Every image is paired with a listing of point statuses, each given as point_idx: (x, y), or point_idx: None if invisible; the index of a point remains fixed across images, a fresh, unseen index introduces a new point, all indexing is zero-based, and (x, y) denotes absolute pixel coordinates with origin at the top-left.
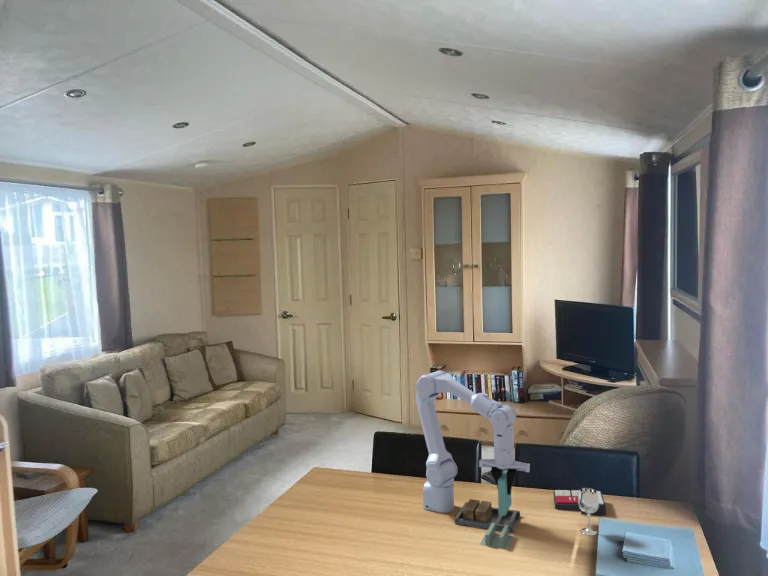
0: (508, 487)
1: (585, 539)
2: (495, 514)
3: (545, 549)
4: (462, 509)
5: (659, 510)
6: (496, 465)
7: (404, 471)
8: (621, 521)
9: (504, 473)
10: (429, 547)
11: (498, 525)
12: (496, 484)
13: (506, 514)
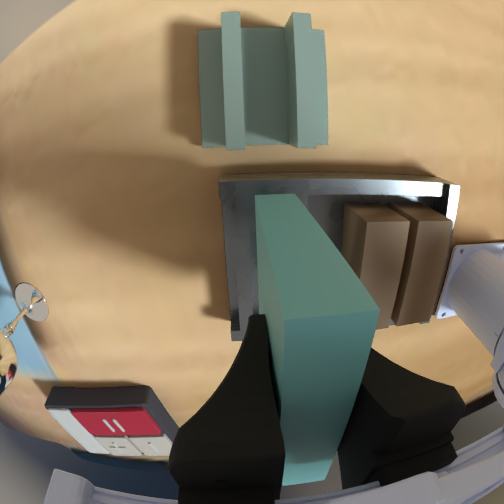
0: (258, 345)
1: (18, 255)
2: None
3: (81, 125)
4: None
5: (12, 409)
6: (448, 495)
7: None
8: (19, 367)
9: (317, 458)
10: (459, 24)
11: (286, 179)
12: None
13: None
